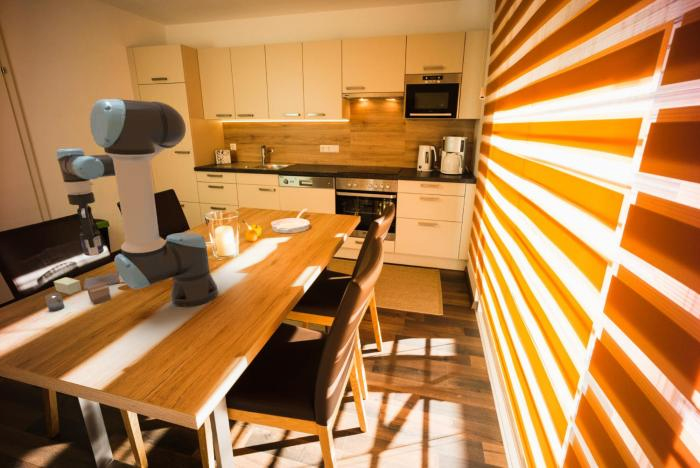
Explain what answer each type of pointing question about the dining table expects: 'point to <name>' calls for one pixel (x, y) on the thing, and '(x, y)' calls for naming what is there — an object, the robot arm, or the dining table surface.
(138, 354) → the dining table surface
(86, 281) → the mat
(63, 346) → the dining table surface
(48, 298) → the grey rounded block
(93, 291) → the walnut cube
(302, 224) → the pan
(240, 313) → the dining table surface
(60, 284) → the sage block
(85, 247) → the pill bottle
